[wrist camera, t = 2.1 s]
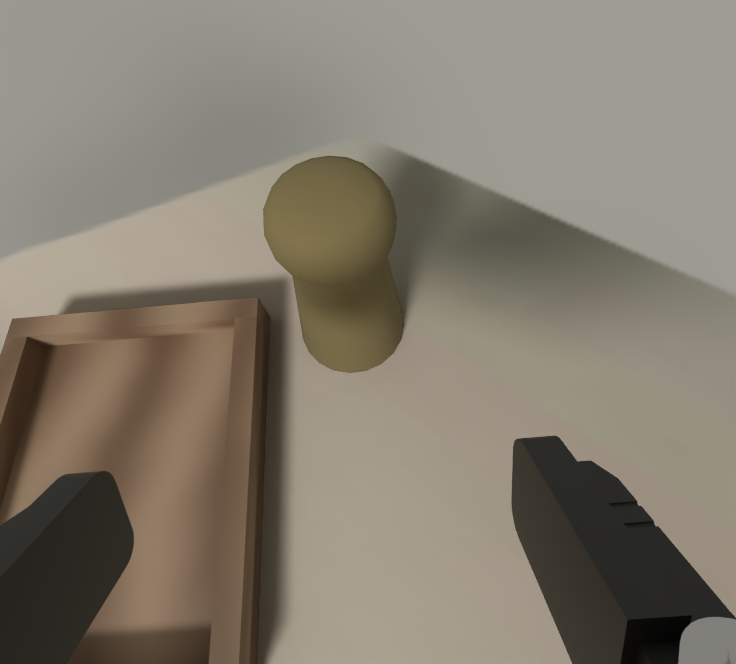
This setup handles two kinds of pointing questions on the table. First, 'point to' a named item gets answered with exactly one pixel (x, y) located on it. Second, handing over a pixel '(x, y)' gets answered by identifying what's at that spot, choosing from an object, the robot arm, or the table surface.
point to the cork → (338, 259)
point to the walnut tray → (152, 463)
